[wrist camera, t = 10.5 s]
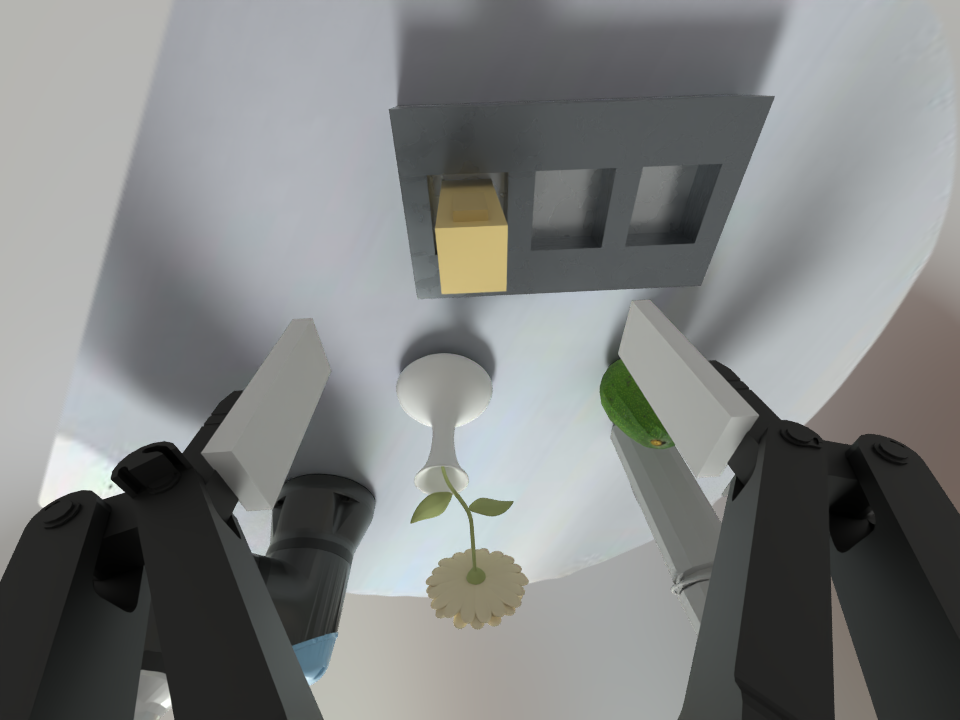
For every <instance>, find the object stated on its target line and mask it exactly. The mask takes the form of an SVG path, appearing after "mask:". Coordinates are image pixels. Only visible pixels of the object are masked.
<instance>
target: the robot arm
mask: <svg viewBox="0 0 960 720" xmlns="http://www.w3.org/2000/svg"><path fill="white" fill-rule="evenodd" d="M618 355H619V356H620V358H621V360H622V361H623V363H624V364H625V366H626V367H627V369H628V371H629V372H630V374H631V375H632V377H633V379H634V380H635V382H636V383H637V385H638V386H639V388H640V390H641V391H642V393H643V394H644V396H645V398H646V399H647V401H648V402H649V404H650V405H651V407H652V409H653V410H654V412H655V413H656V415H657V417H658V418H659V420H660V421H661V423H662V424H663V426H664V428H665V429H666V431H667V432H668V434H669V436H670V437H671V439H672V440H673V442H674V444H675V445H676V447H677V448H678V450H679V451H680V453H681V455H682V456H683V458H684V459H685V461H686V463H687V464H688V466H689V467H690V469H691V470H692V472H693V474H694V475H695V477H696V478H705V477H718V476H721V474H722V472H723V471H724V469H725V468H726V466H727V465H729V466H730V468H731V469H732V470H733V472H734V473H735V476H734V477H733V478H732V480H731V481H730V483H729V484H728V486H727V487H726V489H725V490H724V492H723V493H722V496H724V497H726V495H727V494H728V498H727V502H726V507H725V511H724V516H723V521H722V525H721V530H720V535H719V540H718V544H717V549H716V554H715V558H714V563H713V568H712V573H711V577H710V582H709V587H708V591H707V596H706V601H705V606H704V610H703V615H702V620H701V624H700V629H699V634H698V639H697V643H696V648H695V653H694V657H693V662H692V667H691V672H690V676H689V681H688V686H687V690H686V695H685V700H684V704H683V708H682V711H681V713H680V716H679V718H678V720H835V714H834V678H833V642H832V607H831V577H832V580H833V583H834V586H835V589H836V592H837V596H838V599H839V602H840V605H841V608H842V611H843V614H844V617H845V620H846V623H847V626H848V629H849V632H850V635H851V638H852V641H853V644H854V648H855V650H856V654H857V657H858V660H859V663H860V666H861V669H862V672H863V675H864V678H865V681H866V684H867V687H868V690H869V693H870V696H871V699H872V702H873V706H874V709H875V712H876V715H877V718H878V720H960V514H959V513H958V512H957V510H956V508H955V507H954V505H953V504H952V502H951V501H950V499H949V498H948V496H947V495H946V493H945V492H944V490H943V489H942V487H941V486H940V484H939V483H938V481H937V480H936V478H935V477H934V475H933V474H932V473H931V471H930V470H929V468H928V466H926V464H925V462H924V461H923V460H922V459H921V457H920V456H919V455H918V454H917V453H916V452H914V451H913V450H911V449H910V448H908V447H907V446H906V445H904V444H902V443H900V442H898V441H896V440H893V439H891V438H887V437H884V436H881V435H875V434H865V435H861V436H860V437H859V438H858V439H857V440H856V441H855V442H854V443H853V444H852V445H848V444H841V443H836V442H830V441H824V440H822V438H821V437H820V436H819V435H818V434H817V433H815V432H814V431H812V430H810V429H809V428H808V427H805V426H803V425H801V424H799V423H796V422H792V421H788V420H781V419H780V418H779V417H778V416H777V415H776V414H775V413H774V412H773V411H772V410H771V409H770V408H769V407H768V406H767V405H766V404H765V403H764V402H763V401H762V400H761V399H760V398H759V397H758V396H757V395H756V394H755V393H754V392H753V391H752V390H749V387H748V386H747V385H746V384H745V383H744V382H743V381H740V378H739V377H738V376H737V375H736V374H735V373H734V372H733V371H732V370H731V369H729V368H728V367H726V366H724V365H723V364H721V363H719V362H717V361H716V360H713V361H707V360H706V359H705V357H704V356H703V355H702V354H701V353H700V352H699V351H698V350H697V349H696V348H695V347H694V346H693V345H692V344H691V343H690V342H689V341H688V339H687V338H686V337H685V336H684V335H683V334H682V333H681V332H680V331H679V330H678V329H677V328H676V327H675V326H674V325H673V324H672V323H671V321H670V320H669V319H668V318H667V317H666V316H665V315H664V314H663V313H662V312H661V311H660V310H659V309H658V308H657V307H656V306H655V305H654V303H653V302H652V301H651V300H633V301H632V302H631V305H630V309H629V313H628V317H627V321H626V325H625V328H624V332H623V336H622V340H621V344H620V348H619V352H618ZM330 373H331V369H330V366H329V363H328V360H327V358H326V355H325V352H324V349H323V347H322V344H321V341H320V338H319V336H318V333H317V330H316V327H315V325H314V322H313V319H312V318H307V319H293V320H292V321H291V323H290V324H289V326H288V327H287V329H286V330H285V332H284V333H283V334H282V336H281V337H280V339H279V340H278V342H277V343H276V345H275V346H274V348H273V349H272V350H271V352H270V353H269V355H268V356H267V358H266V359H265V361H264V362H263V364H262V365H261V366H260V368H259V369H258V371H257V372H256V374H255V375H254V377H253V378H252V380H251V381H250V382H249V384H248V385H247V387H246V388H245V390H243V391H234V392H232V393H231V394H230V395H229V396H227V397H226V398H225V399H224V400H222V401H221V402H220V403H219V404H218V406H217V407H216V409H215V410H214V411H213V413H212V414H211V415H212V416H211V417H209V418H208V419H207V421H206V422H205V423H204V427H201V429H200V430H199V432H198V433H197V434H196V436H195V437H194V438H193V440H192V441H191V442H190V444H189V445H188V446H187V448H186V449H185V451H184V452H183V453H181V452H180V451H179V449H178V448H177V447H176V446H175V445H174V444H173V443H170V442H165V441H164V442H157V443H152V444H149V445H147V446H144V447H141V448H139V449H138V450H136V451H134V452H132V453H131V454H129V455H128V456H126V457H125V458H124V459H123V460H122V461H120V462H119V463H118V465H117V466H116V467H115V469H114V470H113V471H112V475H111V480H112V481H113V482H114V483H115V484H117V485H118V486H119V487H120V488H121V489H122V490H123V491H124V492H125V493H122V494H119V495H116V496H113V497H109V498H106V499H101V498H100V497H99V496H98V495H97V494H95V493H94V492H93V491H87V490H81V491H77V492H73V493H70V494H67V495H65V496H63V497H61V498H59V499H56V500H55V501H53V502H52V503H50V504H48V505H47V506H46V507H44V508H43V509H41V510H40V512H38V513H37V514H36V515H35V516H34V517H33V518H32V519H31V520H30V522H29V523H28V524H27V526H26V527H25V529H24V531H23V533H22V535H21V538H20V540H19V542H18V544H17V546H16V549H15V551H14V553H13V555H12V558H11V559H10V562H9V564H8V566H7V568H6V570H5V573H4V575H3V577H2V579H1V581H0V720H159V719H160V718H161V717H162V716H163V715H164V714H165V713H166V712H167V711H168V710H170V709H171V708H172V709H173V714H174V720H324V719H323V717H322V715H321V712H320V710H319V708H318V706H317V703H316V701H315V698H314V696H313V694H312V691H311V689H310V687H309V685H312V684H313V683H315V682H317V681H318V680H319V679H320V678H321V677H322V676H323V675H324V673H325V672H326V670H327V668H328V665H329V662H330V658H331V654H332V651H333V647H334V644H335V640H336V638H337V637H338V632H337V631H338V627H339V621H340V617H341V612H342V607H343V602H344V598H345V593H346V588H347V583H348V579H349V574H350V569H351V564H352V560H353V555H354V553H355V551H356V549H357V547H358V545H359V544H360V542H361V540H362V538H363V536H364V534H365V533H366V531H367V529H368V527H369V525H370V523H371V521H372V519H373V514H374V509H375V500H374V497H373V496H372V494H371V493H370V492H369V491H368V490H367V489H366V488H364V487H363V486H361V485H360V484H358V483H356V482H354V481H351V480H348V479H345V478H342V477H337V476H332V475H306V476H301V477H297V478H294V479H292V480H289V481H288V482H286V483H285V484H284V482H285V479H286V477H287V475H288V472H289V470H290V467H291V465H292V463H293V460H294V458H295V456H296V453H297V451H298V449H299V446H300V444H301V442H302V439H303V437H304V434H305V432H306V430H307V427H308V425H309V423H310V420H311V418H312V416H313V413H314V411H315V409H316V406H317V404H318V401H319V399H320V397H321V394H322V392H323V390H324V387H325V385H326V383H327V380H328V378H329V376H330ZM238 501H239V502H240V503H241V505H242V506H243V507H244V508H245V510H246V511H257V510H271V509H272V523H271V538H270V545H269V548H268V551H267V553H266V556H261V555H257V554H254V553H251V550H250V548H249V546H248V543H247V541H246V539H245V536H244V534H243V532H242V530H241V527H240V525H239V523H238V520H237V518H236V517H235V516H234V515H233V513H232V512H233V510H234V508H235V506H236V504H237V502H238ZM874 515H875V516H874Z"/></svg>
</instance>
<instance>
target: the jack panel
mask: <svg viewBox="0 0 960 720" xmlns="http://www.w3.org/2000/svg"><path fill="white" fill-rule="evenodd" d="M774 97H775V96H762V95H739V94H737V95H707V96H678V97H649V98H620V99H590V100H561V101H532V102H503V103H473V104H444V105H415V106H396V107H393V108H391V109H389V113H390V120H391V126H392V133H393V140H394V146H395V153H396V160H397V166H398V173H399V179H400V186H401V193H402V199H403V206H404V213H405V219H406V226H407V233H408V239H409V246H410V253H411V259H412V266H413V273H414V279H415V286H416V293H417V299H432V298H453V297H473V296H494V295H515V294H535V293H556V292H577V291H598V290H618V289H639V288H660V287H680V286H701V284H702V281H703V279H704V276H705V274H706V271H707V269H708V266H709V264H710V261H711V258H712V256H713V253H714V251H715V248H716V246H717V243H718V241H719V238H720V235H721V233H722V230H723V228H724V225H725V223H726V220H727V217H728V215H729V212H730V210H731V207H732V205H733V202H734V200H735V197H736V194H737V192H738V189H739V187H740V184H741V182H742V179H743V177H744V174H745V171H746V169H747V166H748V164H749V161H750V159H751V156H752V154H753V151H754V148H755V146H756V143H757V141H758V138H759V136H760V133H761V130H762V128H763V125H764V123H765V120H766V118H767V115H768V113H769V110H770V107H771V105H772V102H773V100H774ZM470 179H491V180H492V183H493V186H494V188H495V191H496V194H497V197H498V199H499V202H500V205H501V208H502V211H503V213H504V216H505V219H506V222H507V224H508V241H507V286H506V291H500V292H479V293H458V294H442V292H441V282H440V272H439V263H438V253H437V243H436V233H435V225H436V218H437V211H438V204H439V197H440V190H441V183H442V181H445V180H470Z"/></svg>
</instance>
